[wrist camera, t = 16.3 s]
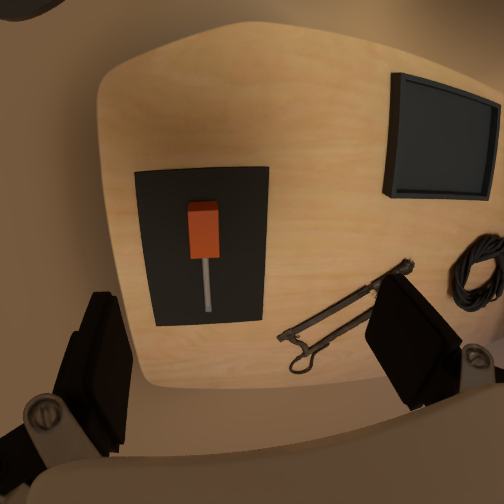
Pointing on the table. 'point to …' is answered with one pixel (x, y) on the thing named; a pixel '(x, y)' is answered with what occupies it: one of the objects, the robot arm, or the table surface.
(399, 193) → the tray
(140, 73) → the table surface
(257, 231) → the mat
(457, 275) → the cable
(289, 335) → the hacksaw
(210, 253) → the screwdriver
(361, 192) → the table surface
